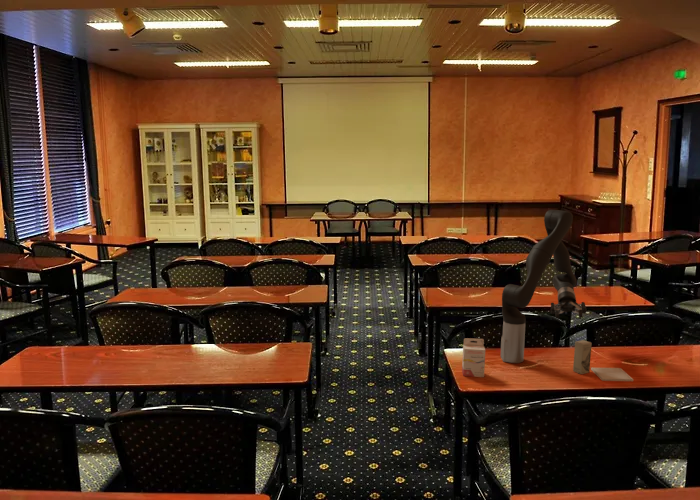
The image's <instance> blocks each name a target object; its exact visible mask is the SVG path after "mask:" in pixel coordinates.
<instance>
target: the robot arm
mask: <svg viewBox="0 0 700 500" xmlns="http://www.w3.org/2000/svg"><path fill="white" fill-rule="evenodd" d="M573 217H574V216H573V214H572V212H571V211H568V210H561V209H560V210H558V209H549V210H547V211H546V212H545V214H544V217H543V219H544V220H543V221H544V223H543V224H544V227H545V231H546V234H547V236H546V237H544V238H542V239H541V240H540V241H538V242H537V243H535V244H534V245H533V246H532V248H531V250H530V251H529V253H528V254H527V257H526V259H525V268H526V273H527V274H526V279H525V281H524V283H523V285H517V284H512V283H508V284H507V285H505V286H504V287H503V290H502V294H501V310H502V311H501V314H502V318H503V319H502V321H503V324H502V335H501V336H500V337H501V338H500V339H501V341H500V358H501V360H502V362H504V363H505V362H506V363H510V364H511V363H512V364H519V363H522V362H524V359H525V341H526V340H525V339H526V338H525V337H526V335H525V334H526V315H525V314H524V313H522V312H521V311H520V310H519V309H525V308H527V306H529V304H530V303H531V300H532V298H533V296H534V294H535V291H536V288H537V287H538V284H539V282H540V280H541V278H542V276H543V274H544V272H545V270H546V268H548V266H549V264H550V262H551V260H552V258H553V264H554V268H555V269H554V270H555V271H556V272H558V274H555V275H554V276H553V277H552V285H553V287H554V289H555V290H556V291H557V303H556V304H555V303H554V302H550V314H551V315H554V314H555V318H556V319H557V320H559V319H560V314H563V313H564V312H565V313H566V312H567V313H568V312H573V314H574V313H575V314H577V315H578V319H579V320H580V319H582V318H583V314H585V315H586V314H587V306H586V303H585V301H582V302H580V303H578V302H577V297H576V293H575V287H576V286H577V282H578V281H577V278H576V275H575V274H574V272H573V268H572V266H571V265H572V264H571V258H570V256H571V255H570V253H569V250H568V248H567V246H566V245H565V243H564V241H563V239H564V237H565V236H566V235H567V233H568V232H569V230H570V228H571V226H572V225H573V222H574V221H573V219H574V218H573ZM559 273H560V274H559ZM518 308H519V309H518Z"/></svg>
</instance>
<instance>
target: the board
mask: <svg viewBox="0 0 700 500" xmlns="http://www.w3.org/2000/svg"><path fill="white" fill-rule="evenodd" d="M590 371H592V372H593V373H594V374H595V375H596V376H597V377H598V378H599V379H600V380H601V381H602V382H603V381H605V382H634V378H632V377H631V376H630V375H629V374H628V373H627V372H626V371H625V370H623V369H622V368H621V367H591V368H590Z"/></svg>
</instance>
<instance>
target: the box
mask: <svg viewBox="0 0 700 500" xmlns="http://www.w3.org/2000/svg"><path fill="white" fill-rule="evenodd" d="M573 354H574V355H573V367H572V372H574V373H577V374H579V375H585V374H588V373H590V371H591V368H590V367H591V355H592V342H591V341H587V340H584V339H583V340H582V339H581V340H578V341H575V342H574V353H573Z"/></svg>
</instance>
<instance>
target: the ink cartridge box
mask: <svg viewBox="0 0 700 500" xmlns="http://www.w3.org/2000/svg"><path fill="white" fill-rule="evenodd" d="M484 342H485V340H484V338H471V337H470V338H468V337H467V338H463V345H462V364H461V373H462V376H463V377H475V378H476V377H478V378H484V377H485V365H486V347H485V346H484V344H485V343H484Z"/></svg>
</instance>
